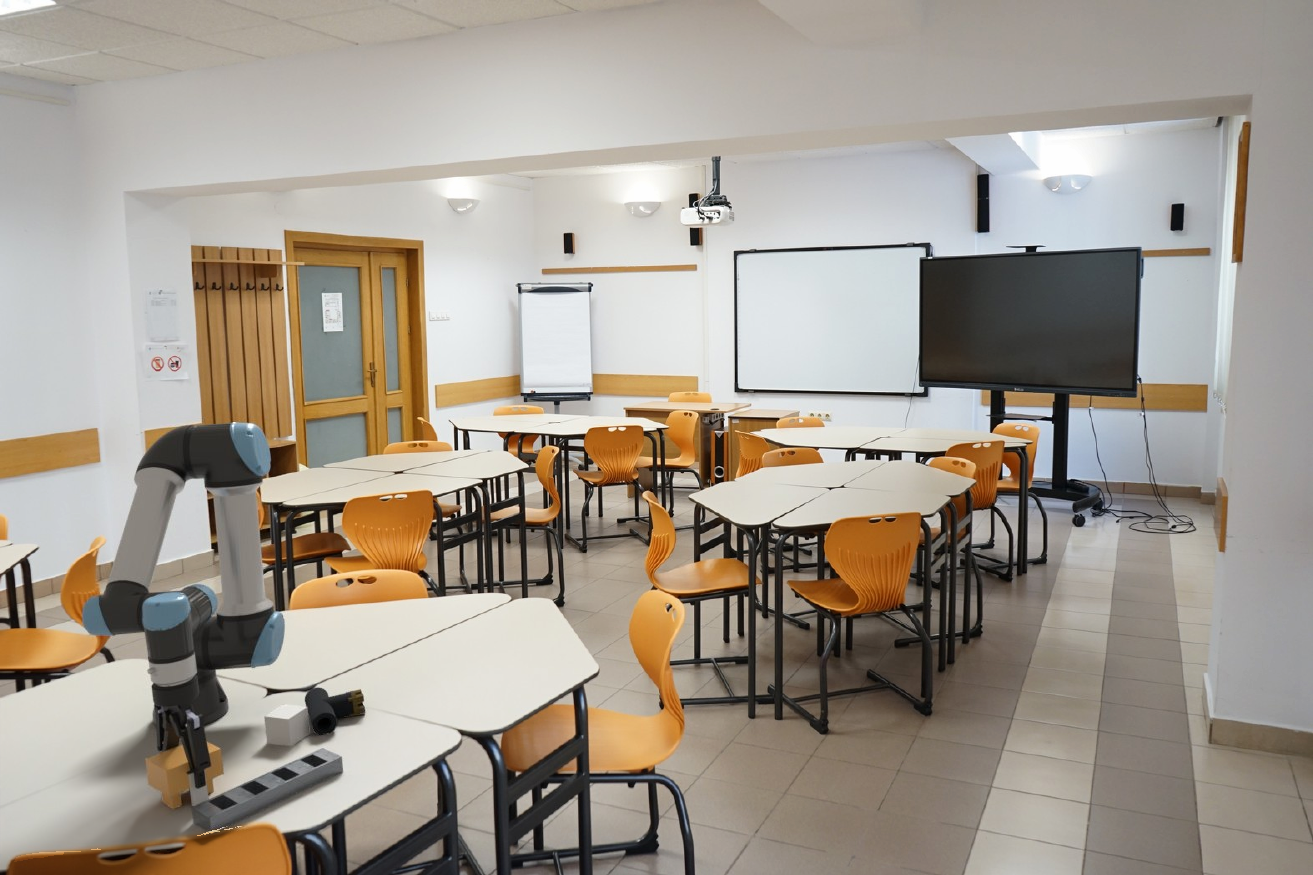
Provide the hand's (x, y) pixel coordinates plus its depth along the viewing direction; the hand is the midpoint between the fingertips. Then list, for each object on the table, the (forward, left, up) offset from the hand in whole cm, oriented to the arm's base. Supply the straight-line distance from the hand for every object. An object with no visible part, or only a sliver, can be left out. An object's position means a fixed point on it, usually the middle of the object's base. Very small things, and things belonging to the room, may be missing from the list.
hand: (188, 795), depth 175 cm
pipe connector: (-6, +36, -1) cm, 36 cm away
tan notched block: (0, 0, 0) cm, 0 cm away
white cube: (-6, +24, -1) cm, 25 cm away
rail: (+13, +9, 0) cm, 16 cm away
